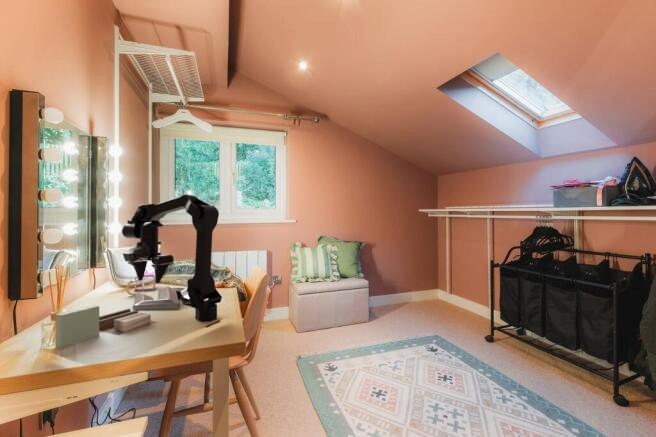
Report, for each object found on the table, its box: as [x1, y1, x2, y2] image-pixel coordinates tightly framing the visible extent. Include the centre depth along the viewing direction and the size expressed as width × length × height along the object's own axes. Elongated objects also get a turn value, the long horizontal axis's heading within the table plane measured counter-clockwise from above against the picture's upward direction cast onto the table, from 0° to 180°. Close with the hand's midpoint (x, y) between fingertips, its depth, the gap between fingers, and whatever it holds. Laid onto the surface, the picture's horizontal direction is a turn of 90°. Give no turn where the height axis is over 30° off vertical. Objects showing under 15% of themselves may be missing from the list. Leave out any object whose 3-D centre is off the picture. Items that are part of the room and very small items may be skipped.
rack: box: [99, 308, 157, 336], centre depth 95 cm, size 16×12×4 cm
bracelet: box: [125, 277, 145, 297], centre depth 135 cm, size 7×3×8 cm, turn 116°
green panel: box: [55, 304, 100, 349], centre depth 82 cm, size 2×9×10 cm, turn 157°
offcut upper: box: [114, 312, 152, 327], centre depth 93 cm, size 5×8×2 cm, turn 156°
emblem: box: [132, 286, 191, 311], centre depth 122 cm, size 28×5×28 cm
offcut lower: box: [114, 319, 152, 333], centre depth 93 cm, size 5×8×2 cm, turn 157°
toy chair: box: [133, 272, 156, 293], centre depth 147 cm, size 8×9×15 cm
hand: (149, 281), depth 109 cm, fingers open, 9 cm apart
